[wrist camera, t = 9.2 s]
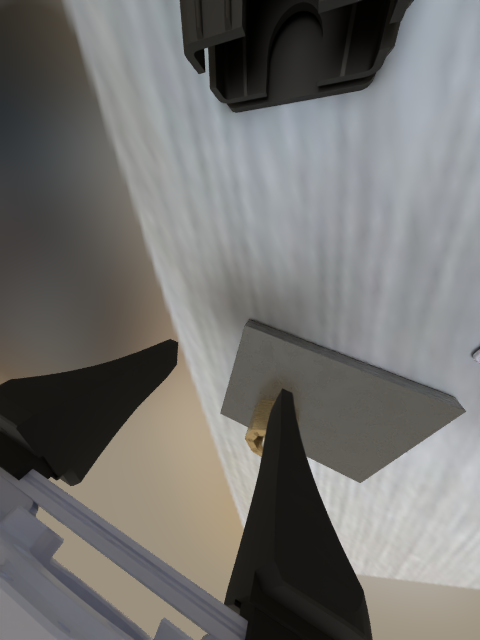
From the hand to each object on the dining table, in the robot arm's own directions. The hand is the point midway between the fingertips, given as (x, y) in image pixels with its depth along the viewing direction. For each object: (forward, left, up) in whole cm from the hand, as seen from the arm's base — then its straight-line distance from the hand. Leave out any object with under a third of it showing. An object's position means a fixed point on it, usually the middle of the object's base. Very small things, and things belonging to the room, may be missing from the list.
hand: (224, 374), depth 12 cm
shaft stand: (-9, +9, -9) cm, 16 cm away
